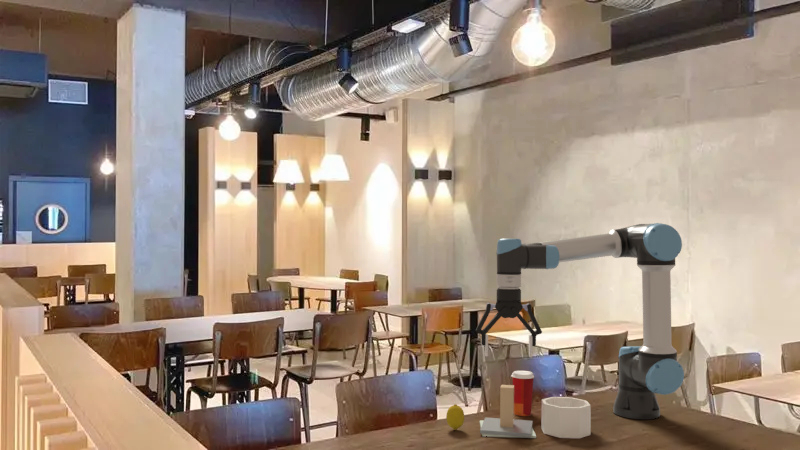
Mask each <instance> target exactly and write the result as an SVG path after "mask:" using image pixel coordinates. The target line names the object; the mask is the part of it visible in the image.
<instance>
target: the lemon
mask: <svg viewBox="0 0 800 450" xmlns="http://www.w3.org/2000/svg"><path fill="white" fill-rule="evenodd" d="M446 411H447V412H446V417H445V418H446V423H447V425H448V426H449V427H450V428H451V429H453V431H457V430H458V429H460V428H461V427H462V426H463V425H464V422H465V412H464V410H463V408H462V407H461V406H460V405H458V404H456V403H455V404H453V405H451V406H450V407H449V408H448V409H447V410H446Z"/></svg>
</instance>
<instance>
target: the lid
mask: <svg viewBox="0 0 800 450" xmlns="http://www.w3.org/2000/svg"><path fill="white" fill-rule="evenodd" d="M499 389H500V390H499V391H500V393H499V397H500V399H499V402H500V403H499V417H498V418H497V417H496V418H495V417H485V416H484V422H483V424H482V427H480V429H479V434H481V435H482V434H495V435H509V436H522V437H531V431H532V428H533V424H534V423H533V422H534V421H533V420H528V419H526V420H525V419H515V414H514V385H513V384H501V385H500V388H499Z"/></svg>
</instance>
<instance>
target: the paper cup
mask: <svg viewBox="0 0 800 450" xmlns="http://www.w3.org/2000/svg"><path fill="white" fill-rule="evenodd" d="M510 377H512V385H514V416H517V417H518V416H520V417H530V416H531V414H532V405H533V389H534V378H535V375H534V373H533V372H532V371H529V370H514V371H513V372H512V373H511V375H510Z"/></svg>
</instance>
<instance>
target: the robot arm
mask: <svg viewBox="0 0 800 450" xmlns="http://www.w3.org/2000/svg"><path fill="white" fill-rule="evenodd" d="M496 243H497V244H496V286H497V289H496V303H495V304H494V303H490V302H487V303H486V305H485V311H484V313H483V315H482V317H481V319H480V320H479V322H478V324H477V327H476V329H475V331H476V332H475V333H477V334H480V335H481V345H482V346H484V355H485V357H489V334H488V332H489V331H491V329H492V328H493V326H494V325H495V324H496V323H497V322H498V321H499V320H500V319H501V318H503V319H515V318H517V319H518V320H519V321H520V322H521V323H522V325H524V327H525V328H526V330H528V332H529V333H530V334H529V335H528V357H529V358H533V347H536V345H537V336H538V335H541V334H542V333H543V331H542V329H541V327H540V325H539V323H538V320H537V319H536V316H535V315H534V313H533V309H532V304H530V303H526V304H524V303H523V304H522V290H521V287H522V269H523V270H525V269H526V270H527V269H528V270H529V269H530V270H531V269H532V270H534V269H535V270H549V269H550V270H553V269H556V268H557V267H558V266H559V263H563V262H564V263H566V262H567V263H568V262H573V261H581V260H588V259H595V258H596V259H597V258H603V257H604V258H605V257H611V256H612V257H613V258H614V259H619V258H634V259H636V265H637V267H638V268H639V269H640V270H641V276H642V277H641V278H642V279H641V280H642V283H641V286H642V287H641V288H642V289H641V290H642V340H643V343H642V345H641V346H640V345H636V346H635V345H634V346H632V345H630V346H629V345H628V346H621V347H620V348H619V352H618V390H617V393H616V396H615V400H614V403H613V410H612V411H613V414H615V415H617V416H620V417H623V418H626V419H632V420H633V419H634V420H655V418H656V419H659V418H660V417H661V408H660V405H659V402H658V399H657V395H656V394H658V395H665V396H666V395H671V394H673V393H675V392H676V391H678V389H679V388H680V387H681V386H682V384H683V383H684V380H685V372H684V367H683V366H682V365H681V363H680V362H679V361H678V351H677V349H676V348H675V347H674V346H673V345H672V340H673V339H672V294H671V293H672V290H671V289H672V288H671V285H672V283H671V280H672V279H671V271H672V270H673V268H675V266H676V258H677V257H679V256H678V255H679V254H681V251H682V248H683V241H682V237H681V235H680V233H679V232H678V230H676V228H674V227H673V226H671V225H669V224H666V223H661V222H656V223H639V224H635V225H630V226H626V227H622V228H618V229H611V230H609V231H608V233H602V234H601V233H600V234H594V235H588V236H580V237H572V238H565V239H564V238H561V239H558V240H557V239H556V240H547V241H541V242H534V243H533V242H532V243H522V240H521V238H499V239H498V240H497V242H496ZM493 309H495V310H496V312H497V313H495V315H494V316H493V318H491V320H490V321H489V322H488V324H486V325H485V327H484V324H485V322H486V321H487V318H488V317H489V315H490V313H491V312H492V311H493ZM522 309H524V311H525V312H527V315H528V316H529V318H530V320H531V322H532V325H533V327H534V328H535V330H534V329H533V328H532V327H531V325H530V324H529V323H528V322H527V321H526V320H525V318H524V316H522V314H520V313H521V311H522ZM483 327H484V328H483ZM658 417H659V418H658Z"/></svg>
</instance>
